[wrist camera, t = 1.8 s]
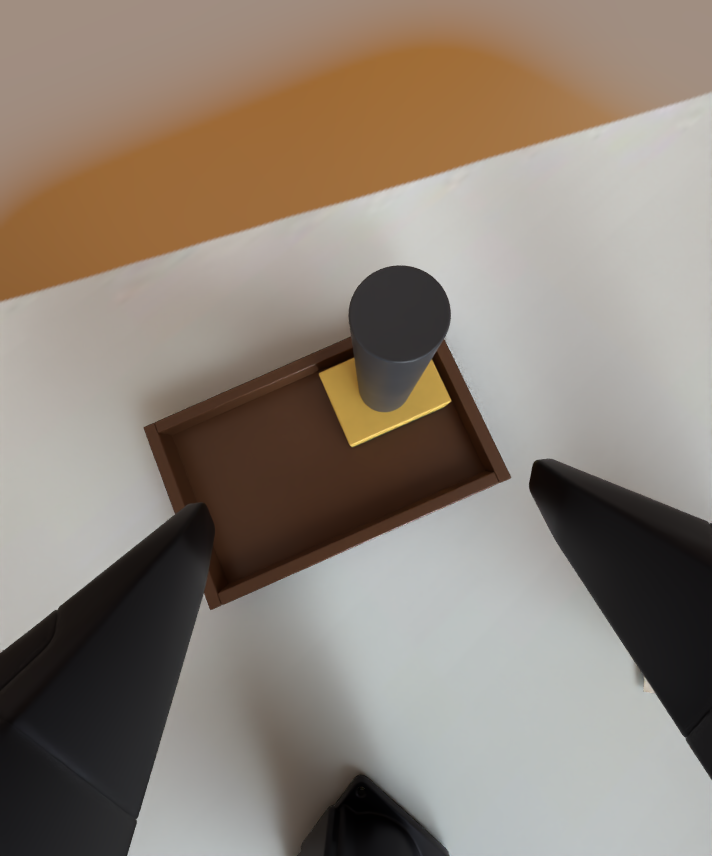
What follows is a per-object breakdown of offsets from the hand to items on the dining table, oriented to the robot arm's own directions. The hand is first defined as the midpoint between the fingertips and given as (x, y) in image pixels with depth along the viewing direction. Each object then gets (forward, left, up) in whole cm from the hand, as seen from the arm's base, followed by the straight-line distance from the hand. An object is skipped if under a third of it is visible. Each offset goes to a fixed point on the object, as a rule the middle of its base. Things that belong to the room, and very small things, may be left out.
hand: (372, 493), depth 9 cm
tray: (+3, +1, -12) cm, 12 cm away
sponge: (+2, -4, -11) cm, 12 cm away
